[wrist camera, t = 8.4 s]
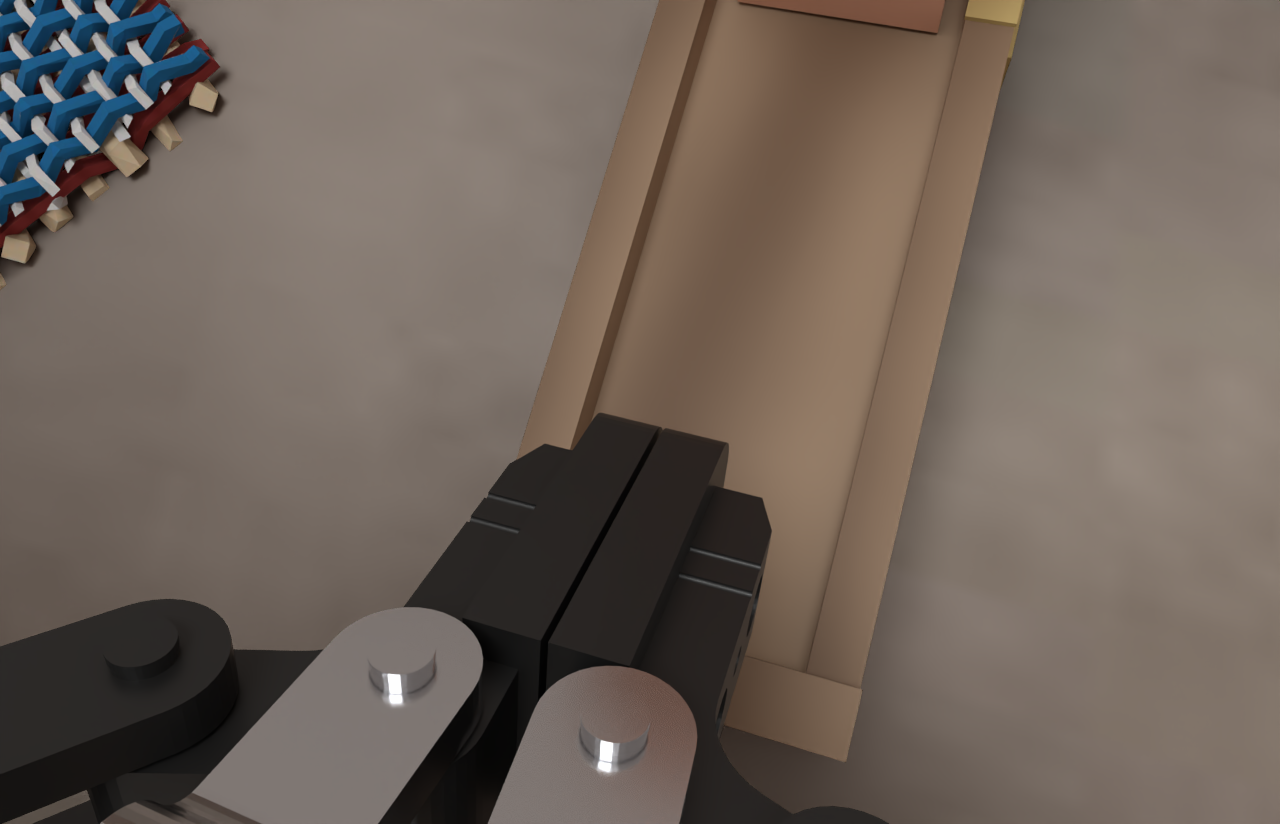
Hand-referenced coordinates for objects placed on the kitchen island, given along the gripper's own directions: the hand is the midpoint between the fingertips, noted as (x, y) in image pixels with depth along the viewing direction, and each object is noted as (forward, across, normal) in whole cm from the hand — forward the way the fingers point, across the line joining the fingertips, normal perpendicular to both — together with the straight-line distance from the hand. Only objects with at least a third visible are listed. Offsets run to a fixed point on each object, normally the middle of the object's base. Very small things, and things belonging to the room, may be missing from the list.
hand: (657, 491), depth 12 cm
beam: (+16, 0, -3) cm, 16 cm away
